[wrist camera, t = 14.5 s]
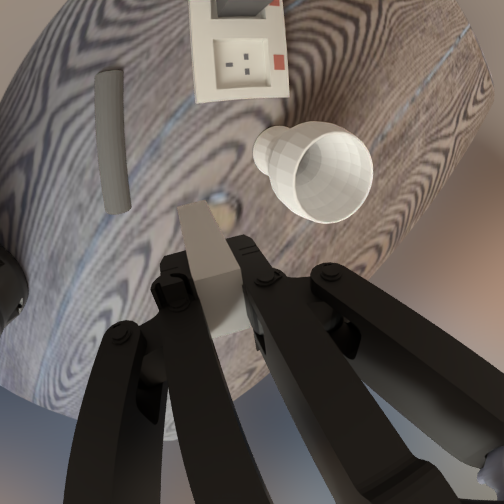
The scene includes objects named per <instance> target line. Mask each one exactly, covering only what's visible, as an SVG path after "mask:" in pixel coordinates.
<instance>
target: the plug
mask: <svg viewBox="0 0 504 504" xmlns="http://www.w3.org/2000/svg"><path fill="white" fill-rule="evenodd" d="M272 1H273V0H216V4H217V14H218V17H232V16H256V15H257V14H258V13H259V12H261V11H262V10H263V9H264V8H265V7H266V6H268V5H269V4H270V3H271V2H272Z"/></svg>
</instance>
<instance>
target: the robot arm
mask: <svg viewBox="0 0 504 504" xmlns="http://www.w3.org/2000/svg"><path fill="white" fill-rule="evenodd" d="M177 209H178V215H179V220H180V225H181V230H182V235H183V239H184V244H185V249H186V250H185V251H182V252H178V253H174V254H170V255H167V256H164V257H163V259H162V261H161V263H160V272H161V273H160V274H161V276H160V277H158V278H157V279H156V280H155V281H154V282H153V283H152V285H151V289H150V290H151V292H152V295H153V297H154V299H155V302H156V304H157V306H158V309H159V312H158V314H157V315H156V316H155V317H154V318H152V319H151V320H149V321H147V322H146V323H144V324H142V325H140V326H138V324H137V323H135V322H133V321H129V320H125V321H120V322H117V323H115V324H114V325H112V326H111V327H110V328H109V329H108V330H107V331H106V332H105V334H104V336H103V338H102V341H101V344H100V347H99V350H98V352H97V355H96V358H95V361H94V364H93V367H92V371H91V374H90V377H89V380H88V383H87V387H86V390H85V394H84V397H83V401H82V405H81V408H80V412H79V416H78V420H77V424H76V429H75V433H74V438H73V442H72V447H71V453H70V458H69V464H68V469H67V476H66V483H65V491H64V500H63V504H160V491H161V466H162V465H161V464H162V449H163V435H164V423H165V412H166V403H167V393H168V389H169V395H170V401H171V406H172V412H173V417H174V422H175V427H176V432H177V436H178V441H179V445H180V450H181V454H182V458H183V462H184V466H185V469H186V473H187V477H188V480H189V484H190V488H191V491H192V494H193V498H194V501H195V504H273V501H272V499H271V497H270V495H269V492H268V490H267V488H266V486H265V484H264V481H263V479H262V476H261V474H260V471H259V469H258V467H257V464H256V462H255V459H254V457H253V454H252V452H251V449H250V447H249V444H248V442H247V439H246V436H245V434H244V431H243V428H242V426H241V423H240V420H239V418H238V415H237V412H236V409H235V406H234V404H233V401H232V398H231V395H230V392H229V389H228V386H227V383H226V380H225V377H224V374H223V371H222V368H221V365H220V362H219V359H218V355H217V352H216V349H215V346H214V343H213V340H212V339H214V338H218V337H221V336H225V335H228V334H232V333H235V332H238V331H242V330H245V329H248V328H250V323H251V325H252V327H253V331H254V337H255V343H256V349H257V351H258V350H260V351H261V353H262V355H263V358H264V360H265V362H266V364H267V366H268V368H269V370H270V373H271V375H272V377H273V379H274V381H275V383H276V385H277V387H278V390H279V392H280V394H281V396H282V398H283V400H284V402H285V404H286V406H287V408H288V410H289V412H290V414H291V416H292V418H293V420H294V422H295V424H296V426H297V428H298V430H299V432H300V434H301V436H302V438H303V440H304V442H305V444H306V446H307V448H308V450H309V452H310V454H311V456H312V458H313V460H314V462H315V464H316V466H317V468H318V469H319V471H320V473H321V475H322V477H323V479H324V481H325V483H326V485H327V487H328V488H329V490H330V492H331V494H332V496H333V498H334V500H335V502H336V504H504V373H502V372H501V371H499V370H498V369H497V368H495V367H494V366H493V365H491V364H490V363H489V362H487V361H486V360H484V359H483V358H482V357H480V356H479V355H478V354H476V353H475V352H473V351H472V350H471V349H469V348H468V347H466V346H465V345H463V344H462V343H461V342H459V341H458V340H456V339H455V338H454V337H452V336H451V335H449V334H448V333H446V332H445V331H443V330H442V329H441V328H439V327H438V326H436V325H435V324H433V323H432V322H430V321H429V320H427V319H425V318H424V317H423V316H421V315H420V314H418V313H417V312H415V311H414V310H412V309H411V308H409V307H407V306H406V305H405V304H403V303H402V302H400V301H398V300H397V299H395V298H394V297H392V296H391V295H389V294H388V293H386V292H384V291H383V290H381V289H380V288H378V287H377V286H375V285H373V284H372V283H370V282H369V281H367V280H366V279H364V278H362V277H361V276H359V275H358V274H356V273H354V272H353V271H351V270H349V269H348V268H346V267H345V266H342V265H340V264H338V263H331V262H330V263H322V264H319V265H317V266H315V267H314V268H313V269H312V271H311V273H310V277H299V278H291V277H287V276H286V275H285V274H284V273H283V272H282V271H281V270H278V269H275V268H272V267H271V265H270V264H269V262H268V261H267V259H266V258H265V257H264V255H263V254H262V252H261V251H260V249H259V248H258V247H257V246H256V244H255V242H254V241H253V239H252V238H250V237H248V236H246V235H244V234H243V235H239V236H235V237H231V238H228V239H225V238H224V236H223V234H222V232H221V230H220V228H219V226H218V224H217V222H216V220H215V218H214V216H213V214H212V212H211V210H210V208H209V206H208V204H207V202H206V200H203V201H198V202H194V203H190V204H186V205H182V206H179V207H177ZM27 298H28V286H27V282H26V278H25V276H24V273H23V271H22V269H21V268H20V266H19V264H18V263H17V261H16V260H15V259H14V257H13V256H12V255H11V254H10V253H9V252H8V251H7V250H5V249H4V248H3V247H1V246H0V337H1V334H2V332H3V330H4V328H5V327H6V326H7V325H8V324H9V323H10V322H12V321H13V320H14V319H15V318H16V317H17V316H18V315H19V314H20V313H21V312H22V310H23V308H24V306H25V304H26V302H27ZM249 321H250V322H249ZM361 380H362V381H363V382H364V383H366V384H367V385H368V386H369V387H370V388H371V389H372V390H373V391H375V392H376V393H377V394H378V395H379V396H380V397H382V398H383V399H384V400H385V401H386V402H388V403H389V404H390V405H391V406H392V407H393V408H395V409H396V410H397V411H398V412H399V413H401V414H402V415H403V416H404V417H405V418H407V419H408V420H409V421H410V422H411V423H413V424H414V425H415V426H416V427H417V428H419V429H420V430H421V431H422V432H423V433H425V434H426V435H427V436H428V437H430V438H431V439H432V440H433V441H434V442H436V443H437V444H438V445H439V446H441V447H442V448H443V449H444V450H446V451H447V452H448V453H449V454H451V455H452V456H454V457H455V458H457V459H458V460H459V461H461V462H463V463H465V464H467V465H470V466H472V467H476V468H479V469H480V471H479V472H478V475H477V480H478V482H479V483H480V484H485V483H486V485H487V486H489V487H491V488H492V489H494V490H495V492H496V493H497V501H490V500H489V501H488V500H471V499H460V498H458V497H457V496H456V494H455V493H454V491H453V490H452V488H451V487H450V485H449V484H448V482H447V481H446V479H445V478H444V476H443V475H442V473H441V472H440V471H439V470H438V468H437V467H436V466H435V465H433V464H432V463H430V462H429V461H425V460H421V459H418V458H417V457H415V456H414V455H413V454H412V453H411V452H410V450H409V449H408V448H407V446H406V445H405V443H404V441H403V440H402V438H401V437H400V435H399V434H398V433H397V431H396V430H395V428H394V427H393V425H392V424H391V422H390V421H389V420H388V418H387V417H386V415H385V414H384V412H383V411H382V409H381V408H380V407H379V405H378V404H377V402H376V401H375V399H374V398H373V396H372V395H371V394H370V392H369V391H368V389H367V388H366V386H365V385H364V384H363V382H362V381H361Z"/></svg>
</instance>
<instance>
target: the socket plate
mask: <svg viewBox="0 0 504 504" xmlns="http://www.w3.org/2000/svg"><path fill="white" fill-rule="evenodd" d="M188 6H189V26H190V43H191V57H192V70H193V82H194V94H195V104H198V103H206V102H215V101H225V100H237V99H252V98H284V97H290V95H289V77H288V61H287V47H286V34H285V23H284V12H283V2H282V0H273V1H272V2H271V3H270V4H269V5H268V6H266V7H265V8H264V9H263V10H262V11H261V12H259V13H258V14H257V15H256V16H232V17H218V14H217V4H216V0H188Z"/></svg>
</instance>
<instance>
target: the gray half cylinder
mask: <svg viewBox="0 0 504 504" xmlns="http://www.w3.org/2000/svg"><path fill="white" fill-rule="evenodd" d="M95 125H96V140H97V152H98V162H99V171H100V179H101V186H102V193H103V199H104V205H105V211H106V212H107V213H108V214H111V215H115V214H121V213H125V212H127V211H129V210H130V209H131V201H130V193H129V184H128V175H127V165H126V153H125V139H124V117H123V71H121V70H110V71H105V72H101V73H99V74H97V75H96V76H95Z"/></svg>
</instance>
